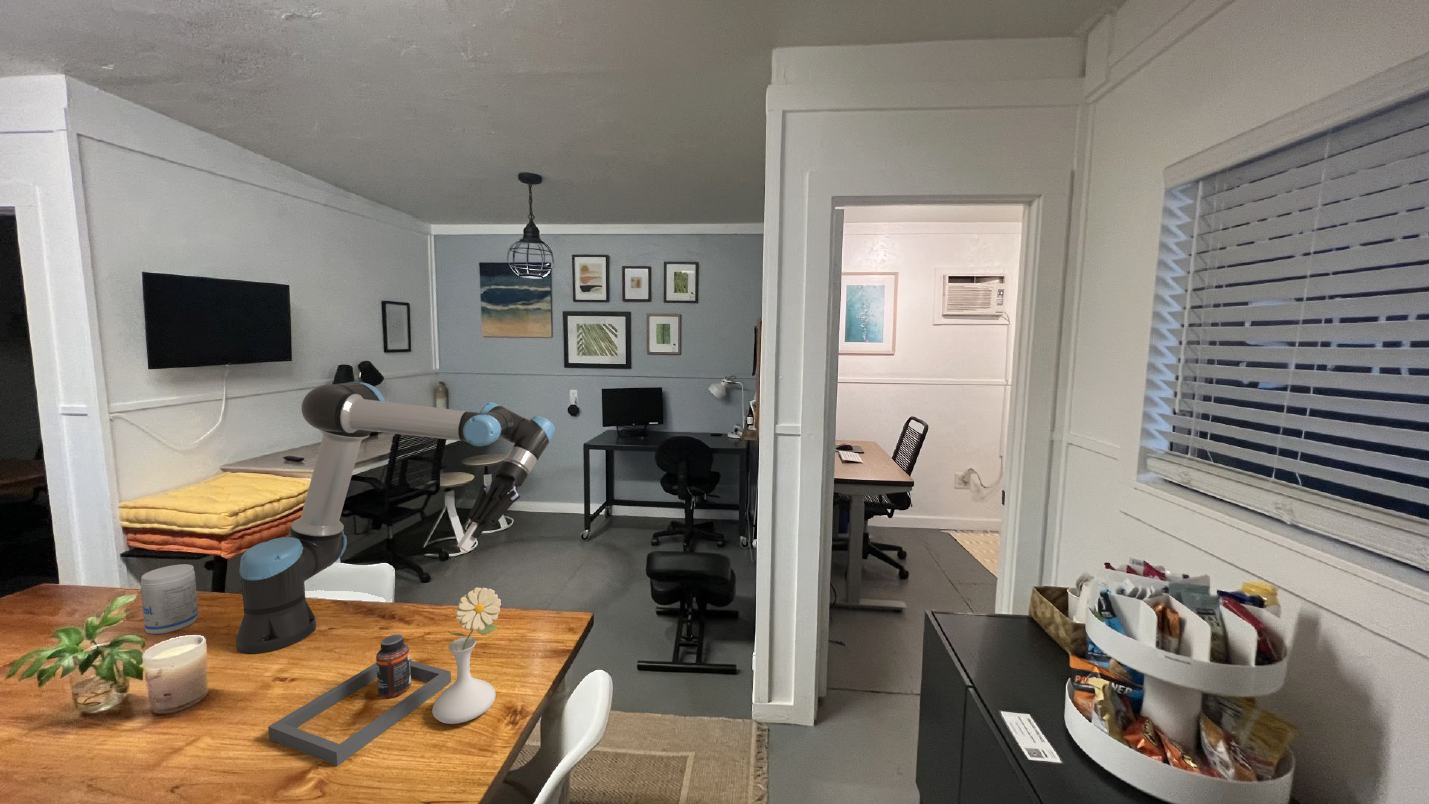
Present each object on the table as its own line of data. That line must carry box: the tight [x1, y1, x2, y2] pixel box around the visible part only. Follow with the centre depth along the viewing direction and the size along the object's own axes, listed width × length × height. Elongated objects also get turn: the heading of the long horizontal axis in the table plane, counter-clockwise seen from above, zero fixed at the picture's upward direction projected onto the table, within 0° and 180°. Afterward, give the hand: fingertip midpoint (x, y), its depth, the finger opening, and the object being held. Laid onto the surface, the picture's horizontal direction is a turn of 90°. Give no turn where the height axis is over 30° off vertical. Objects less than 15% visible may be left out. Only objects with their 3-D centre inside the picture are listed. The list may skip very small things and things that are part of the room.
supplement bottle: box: [375, 634, 412, 699], centre depth 108 cm, size 6×6×11 cm
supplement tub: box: [140, 563, 199, 635], centre depth 132 cm, size 10×10×15 cm
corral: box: [268, 659, 452, 767], centre depth 102 cm, size 18×24×2 cm
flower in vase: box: [431, 587, 502, 725], centre depth 101 cm, size 13×11×25 cm
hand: (462, 548), depth 124 cm, fingers closed
